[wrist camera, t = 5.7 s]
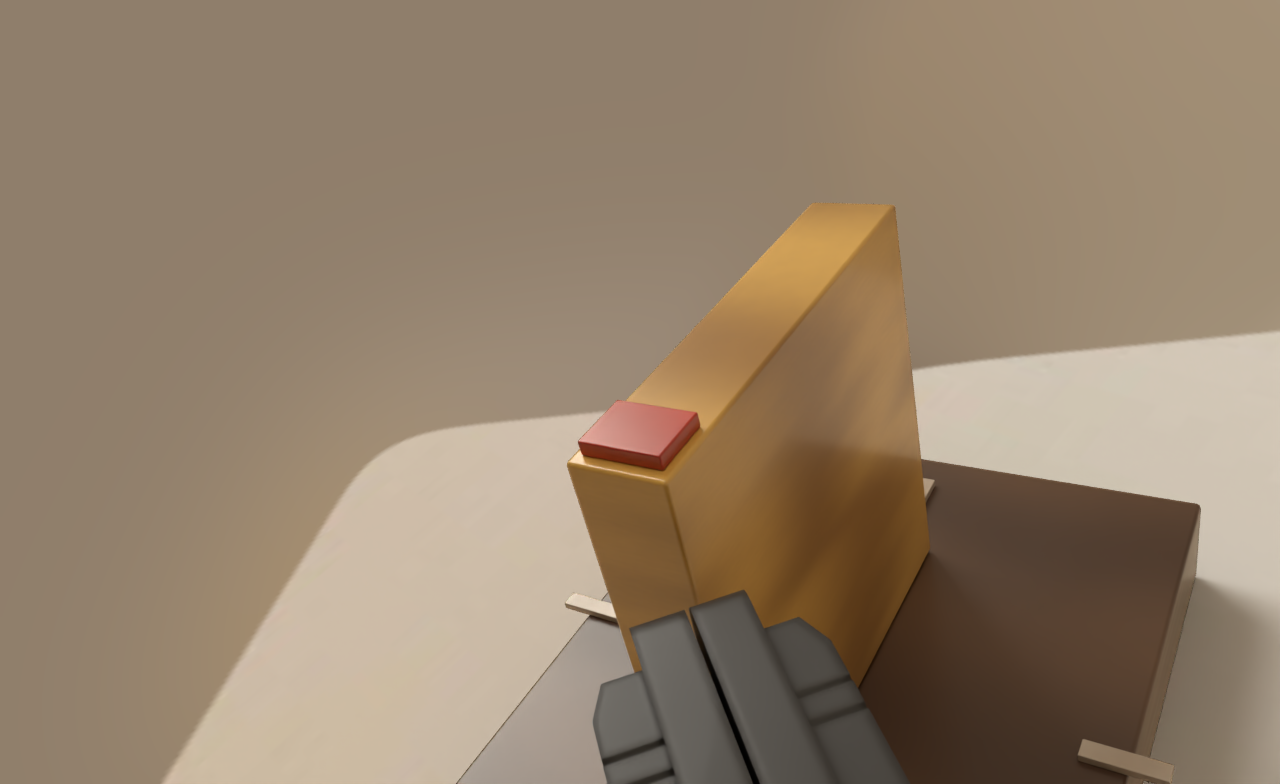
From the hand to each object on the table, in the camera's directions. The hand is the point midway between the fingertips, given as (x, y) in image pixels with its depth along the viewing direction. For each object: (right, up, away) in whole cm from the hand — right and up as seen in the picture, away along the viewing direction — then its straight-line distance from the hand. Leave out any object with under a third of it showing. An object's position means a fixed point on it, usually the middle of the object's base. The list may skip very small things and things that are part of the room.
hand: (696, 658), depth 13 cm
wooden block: (+3, -2, +7) cm, 8 cm away
